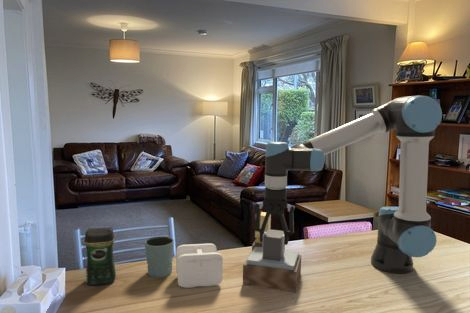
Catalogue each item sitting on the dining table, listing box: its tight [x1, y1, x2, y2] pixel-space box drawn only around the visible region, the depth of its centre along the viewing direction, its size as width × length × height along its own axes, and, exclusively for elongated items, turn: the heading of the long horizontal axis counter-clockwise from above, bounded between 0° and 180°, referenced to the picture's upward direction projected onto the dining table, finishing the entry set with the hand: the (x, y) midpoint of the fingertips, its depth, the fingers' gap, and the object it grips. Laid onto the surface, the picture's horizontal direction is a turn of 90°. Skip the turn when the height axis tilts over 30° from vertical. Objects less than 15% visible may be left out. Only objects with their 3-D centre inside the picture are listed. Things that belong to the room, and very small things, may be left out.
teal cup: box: [144, 235, 175, 279], centre depth 136 cm, size 10×10×12 cm
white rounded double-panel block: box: [175, 243, 224, 289], centre depth 130 cm, size 15×11×12 cm
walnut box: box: [242, 238, 302, 293], centre depth 137 cm, size 18×23×8 cm
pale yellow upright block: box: [254, 211, 272, 244], centre depth 146 cm, size 5×8×10 cm, turn 164°
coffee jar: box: [84, 226, 117, 286], centre depth 128 cm, size 10×8×19 cm
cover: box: [246, 228, 300, 270], centre depth 132 cm, size 16×13×10 cm
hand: (273, 251), depth 132 cm, fingers closed on cover, 6 cm apart
